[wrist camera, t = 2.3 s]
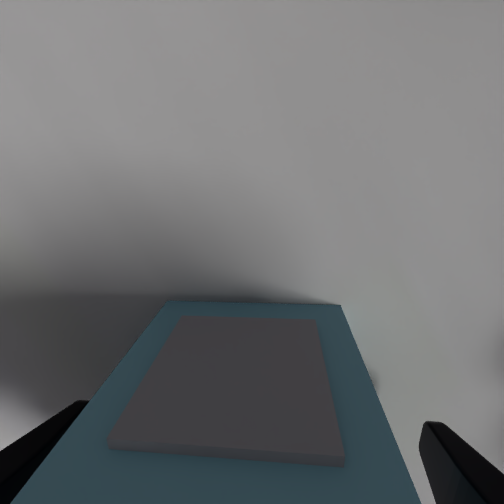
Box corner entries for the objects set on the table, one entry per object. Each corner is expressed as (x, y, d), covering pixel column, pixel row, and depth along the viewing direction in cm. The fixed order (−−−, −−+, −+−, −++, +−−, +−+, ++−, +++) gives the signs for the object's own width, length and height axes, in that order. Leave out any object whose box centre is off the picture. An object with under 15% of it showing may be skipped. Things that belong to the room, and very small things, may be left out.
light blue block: (325, 465, 10) (379, 824, 4) (188, 454, 10) (93, 769, 5) (340, 297, 8) (469, 596, 2) (167, 293, 8) (-33, 539, 3)
